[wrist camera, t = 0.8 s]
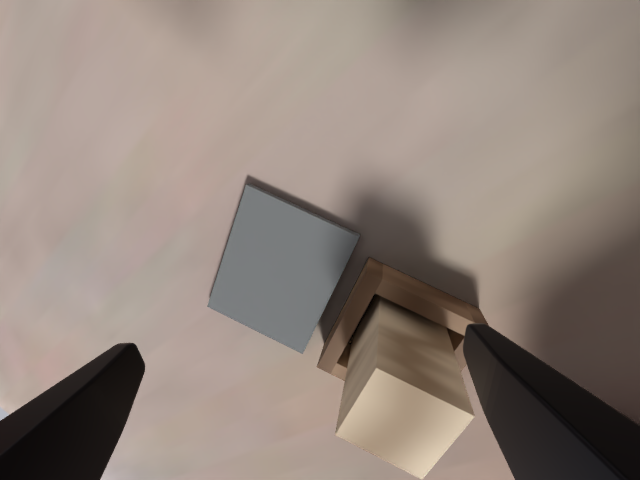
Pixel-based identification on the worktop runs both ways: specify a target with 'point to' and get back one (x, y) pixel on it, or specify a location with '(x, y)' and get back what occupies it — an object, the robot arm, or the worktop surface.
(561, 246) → the worktop surface
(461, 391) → the birch block
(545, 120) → the worktop surface
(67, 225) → the worktop surface
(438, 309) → the walnut pocket
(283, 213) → the slate mat
